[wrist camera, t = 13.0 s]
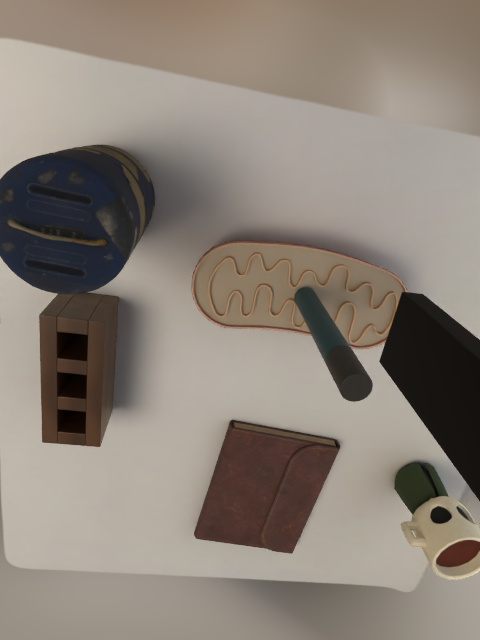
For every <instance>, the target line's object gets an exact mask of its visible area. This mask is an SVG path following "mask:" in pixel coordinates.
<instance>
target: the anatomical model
mask: <svg viewBox="0 0 480 640" xmlns="http://www.w3.org/2000/svg"><path fill="white" fill-rule="evenodd" d="M303 287H309V288H311V289H313V290H314V292H315V293H316V295H317V296H318V298H319V299H320V301H321V302H322V304H323V306H324V307H325V309H326V310H327V312H328V313H329V315H330V316H331V318H332V319H333V321H334V323H335V324H336V326H337V327H338V329H339V330H340V332H341V333H342V335H343V337H344V338H345V340H346V341H347V343H348V344H349V346H350V347H351V348H353V349H369V348H373V347H376V346H379V345H381V344H383V343H385V342H386V340H387V337H388V333H389V330H390V327H391V324H392V321H393V318H394V315H395V312H396V309H397V306H398V303H399V300H400V297H401V293H402V292H407V289H406V287H405V285H404V284H403V282H402V281H401V280H400V279H399V278H398V277H397V276H396V275H394V274H393V273H391V272H389V271H387V270H385V269H383V268H380V267H378V266H375V265H372V264H369V263H367V262H364V261H361V260H358V259H356V258H353V257H350V256H347V255H343V254H340V253H337V252H333V251H330V250H326V249H321V248H317V247H312V246H306V245H300V244H291V243H280V242H257V241H229V242H224V243H221V244H219V245H217V246H215V247H213V248H211V249H210V250H209V251H208V252H206V253H205V254H204V255H203V257H202V258H201V259H200V260H199V262H198V264H197V265H196V268H195V270H194V273H193V277H192V295H193V299H194V301H195V304H196V306H197V308H198V309H199V311H200V312H201V313H202V314H203V316H205V317H206V318H207V319H208V320H209V321H211V322H212V323H214V324H216V325H219V326H221V327H224V328H240V329H267V330H279V331H287V332H294V333H299V334H304V335H309V336H312V335H311V333H310V331H309V329H308V327H307V325H306V323H305V321H304V319H303V317H302V315H301V313H300V311H299V309H298V307H297V305H296V302H295V300H294V296H295V293H296V292H297V291H298V290H299V289H300V288H303Z"/></svg>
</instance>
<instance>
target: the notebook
mask: <svg viewBox="0 0 480 640" xmlns="http://www.w3.org/2000/svg"><path fill="white" fill-rule="evenodd" d="M339 449H340V444H339V443H338V441H337V440H335V439H330V438H325V437H320V436H314V435H309V434H304V433H298V432H293V431H288V430H282V429H277V428H272V427H266V426H261V425H256V424H250V423H245V422H240V421H234V420H231V422H230V424H229V427H228V430H227V433H226V436H225V439H224V442H223V445H222V448H221V451H220V455H219V458H218V461H217V464H216V467H215V470H214V473H213V476H212V479H211V482H210V486H209V489H208V492H207V495H206V498H205V501H204V504H203V507H202V510H201V513H200V517H199V520H198V523H197V526H196V529H195V532H194V535H195V537H196V539H202V540H209V541H216V542H224V543H231V544H238V545H245V546H252V547H259V548H266V549H270V550H272V551H276V552H284V553H293V551H294V548H295V546H296V544H297V542H298V540H299V537H300V535H301V533H302V531H303V529H304V526H305V524H306V522H307V520H308V517H309V515H310V513H311V511H312V509H313V506H314V504H315V502H316V500H317V498H318V495H319V493H320V491H321V489H322V486H323V484H324V482H325V480H326V478H327V475H328V473H329V471H330V469H331V467H332V464H333V462H334V460H335V458H336V455H337V453H338V451H339Z"/></svg>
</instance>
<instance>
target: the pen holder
mask: <svg viewBox="0 0 480 640" xmlns="http://www.w3.org/2000/svg"><path fill="white" fill-rule="evenodd" d="M118 300H119V297H116V296H108V295H100V294H91V293H81V294H58V295H57V296H56V297H55V298H54V299H53V300H52V301H51V303H50V304H49V305H48V306H47V307H46V308H45V309H44V310H43V312H42V313H41V314H40V315H39V319H40V362H41V405H42V442H44V443H58V444H70V445H82V446H95V447H100V446H101V443H102V440H103V437H104V434H105V431H106V428H107V425H108V422H109V419H110V416H111V413H112V410H113V394H114V375H115V357H116V338H117V319H118Z"/></svg>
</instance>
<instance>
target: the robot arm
mask: <svg viewBox="0 0 480 640" xmlns="http://www.w3.org/2000/svg"><path fill="white" fill-rule="evenodd" d="M379 362H380V363H381V365H382V366H383V367H384V369H385V370H386V371H387V373H388V374H389V376H390V377H391V378H392V380H393V381H394V383H395V384H396V385H397V387H398V388H399V390H400V391H401V392H402V394H403V395H404V396H405V398H406V399H407V401H408V402H409V403H410V405H411V406H412V408H413V409H414V410H415V412H416V413H417V415H418V416H419V417H420V419H421V420H422V421H423V423H424V424H425V426H426V427H427V428H428V430H429V431H430V433H431V434H432V435H433V437H434V438H435V440H436V441H437V442H438V444H439V445H440V446H441V448H442V449H443V451H444V452H445V453H446V455H447V456H448V458H449V459H450V460H451V462H452V463H453V465H454V466H455V467H456V469H457V470H458V471H459V473H460V474H461V476H462V477H463V478H464V480H465V481H466V483H467V484H468V485H469V487H470V488H471V490H472V491H473V492H474V494H475V495H476V497H477V498H478V499H479V501H480V340H479V339H478V338H477V337H475V336H474V335H473V334H472V333H470V332H469V331H468V330H467V329H465V328H464V327H463V326H462V325H460V324H459V323H458V322H457V321H455V320H454V319H453V318H452V317H451V316H449V315H448V314H447V313H446V312H444V311H443V310H442V309H441V308H439V307H438V306H437V305H436V304H434V303H433V302H432V301H431V300H429V299H428V298H427V297H426V296H424V295H423V294H417V293H409V292H402V293H401V297H400V300H399V303H398V306H397V309H396V312H395V315H394V318H393V321H392V324H391V327H390V330H389V333H388V337H387V340H386V343H385V346H384V349H383V352H382V355H381V358H380V361H379Z"/></svg>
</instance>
